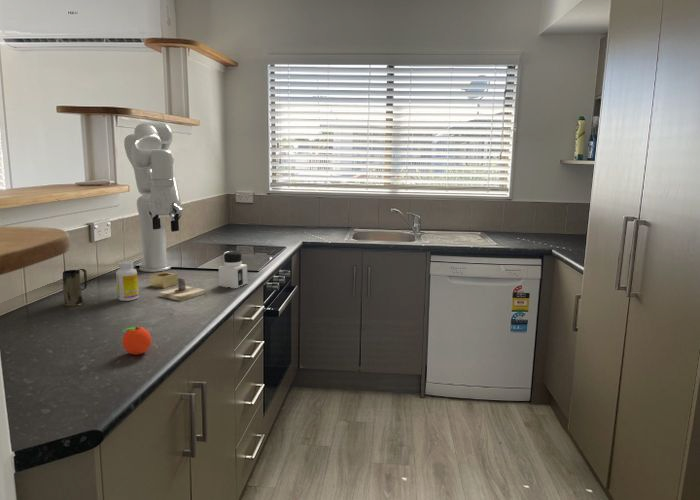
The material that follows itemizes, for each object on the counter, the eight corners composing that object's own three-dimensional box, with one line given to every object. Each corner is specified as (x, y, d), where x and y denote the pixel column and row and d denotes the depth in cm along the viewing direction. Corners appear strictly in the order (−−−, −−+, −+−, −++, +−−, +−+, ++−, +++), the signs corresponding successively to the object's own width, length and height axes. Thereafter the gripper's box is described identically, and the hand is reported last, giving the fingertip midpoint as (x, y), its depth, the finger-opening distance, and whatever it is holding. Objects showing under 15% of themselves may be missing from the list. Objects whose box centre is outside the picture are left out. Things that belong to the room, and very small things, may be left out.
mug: (60, 305, 175) (57, 270, 173) (71, 301, 180) (68, 266, 178) (82, 307, 174) (79, 271, 172) (93, 302, 179) (90, 267, 177)
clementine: (114, 359, 133) (112, 331, 131) (124, 348, 140) (122, 322, 138) (147, 358, 133) (145, 331, 132) (155, 348, 140) (154, 322, 139)
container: (248, 284, 204) (247, 250, 202) (235, 288, 198) (234, 254, 195) (231, 281, 208) (230, 248, 205) (218, 286, 201) (217, 252, 198)
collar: (151, 285, 201) (150, 275, 200) (165, 281, 206) (164, 271, 206) (163, 288, 197) (162, 277, 197) (177, 284, 203) (177, 274, 202)
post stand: (159, 296, 187) (158, 279, 186) (183, 289, 196) (182, 273, 195) (181, 301, 182) (180, 284, 180) (205, 293, 191) (204, 277, 190)
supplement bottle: (143, 297, 186) (140, 261, 183) (129, 302, 180) (126, 265, 177) (127, 295, 188) (124, 259, 185) (113, 300, 182) (110, 263, 179)
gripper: (138, 183, 197) (141, 229, 200) (171, 185, 188) (174, 233, 191) (155, 182, 203) (157, 227, 206) (187, 184, 195) (190, 230, 198)
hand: (165, 230), depth 199 cm, fingers open, 9 cm apart
